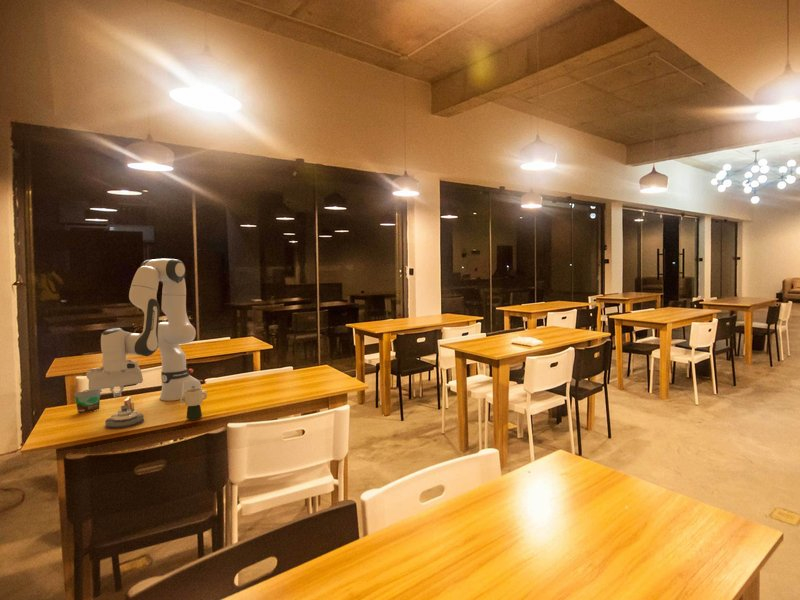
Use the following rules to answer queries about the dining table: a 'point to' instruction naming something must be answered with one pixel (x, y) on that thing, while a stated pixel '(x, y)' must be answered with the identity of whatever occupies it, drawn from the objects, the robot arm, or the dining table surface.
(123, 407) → the handwheel with crank handle
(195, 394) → the character mug
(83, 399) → the food container
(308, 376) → the dining table surface
